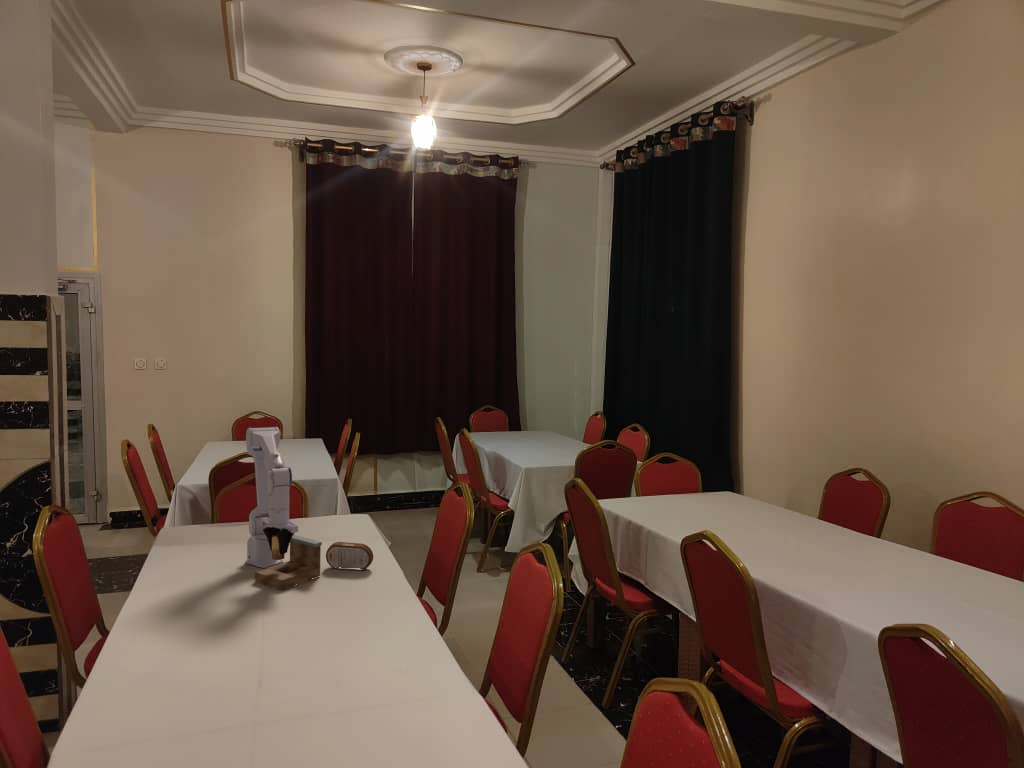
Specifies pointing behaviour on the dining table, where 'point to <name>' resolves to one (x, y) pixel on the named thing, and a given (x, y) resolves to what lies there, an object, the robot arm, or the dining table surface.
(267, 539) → the robot arm
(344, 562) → the tin
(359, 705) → the dining table surface
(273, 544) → the peg
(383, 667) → the dining table surface
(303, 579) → the socket block
